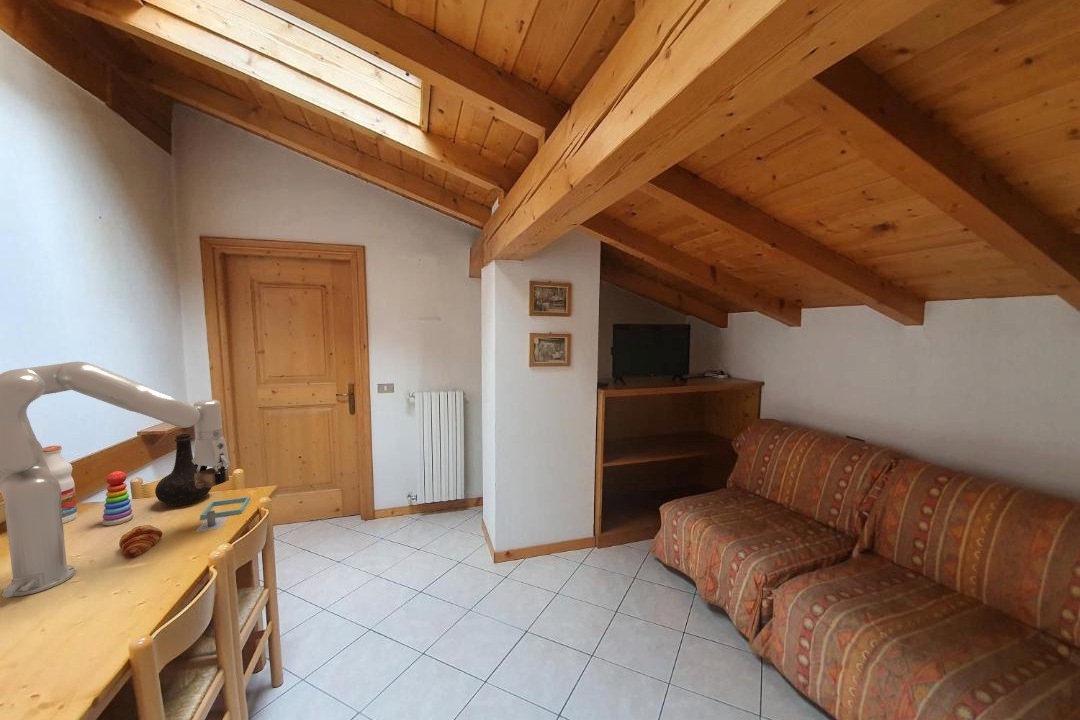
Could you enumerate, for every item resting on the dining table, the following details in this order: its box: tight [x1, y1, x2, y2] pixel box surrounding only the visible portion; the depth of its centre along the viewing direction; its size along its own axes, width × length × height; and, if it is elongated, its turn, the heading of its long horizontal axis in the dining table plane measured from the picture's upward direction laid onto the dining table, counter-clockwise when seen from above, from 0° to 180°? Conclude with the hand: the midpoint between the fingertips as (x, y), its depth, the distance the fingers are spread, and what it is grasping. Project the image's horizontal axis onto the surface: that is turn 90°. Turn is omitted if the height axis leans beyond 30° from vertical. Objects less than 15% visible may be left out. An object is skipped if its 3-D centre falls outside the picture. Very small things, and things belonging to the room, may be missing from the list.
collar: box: [194, 466, 230, 489], centre depth 144 cm, size 7×8×4 cm
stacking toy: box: [101, 470, 134, 526], centre depth 147 cm, size 8×8×19 cm
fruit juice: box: [42, 445, 78, 524], centre depth 146 cm, size 9×9×28 cm
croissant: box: [118, 524, 164, 558], centre depth 131 cm, size 21×10×8 cm, turn 37°
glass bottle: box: [154, 433, 213, 506], centre depth 164 cm, size 18×18×28 cm
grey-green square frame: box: [199, 496, 251, 521], centre depth 156 cm, size 13×13×2 cm
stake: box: [195, 510, 229, 533], centre depth 145 cm, size 9×7×6 cm
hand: (212, 482), depth 145 cm, fingers closed on collar, 6 cm apart
